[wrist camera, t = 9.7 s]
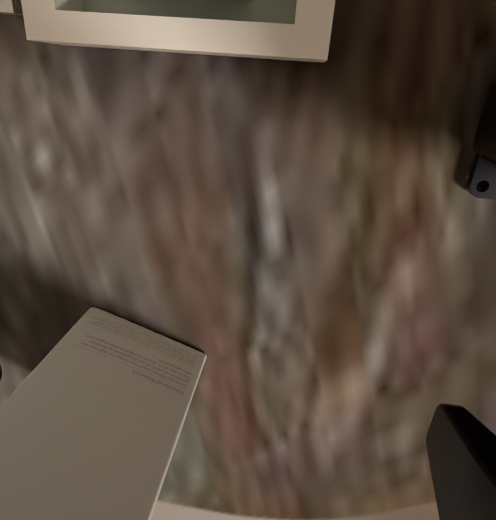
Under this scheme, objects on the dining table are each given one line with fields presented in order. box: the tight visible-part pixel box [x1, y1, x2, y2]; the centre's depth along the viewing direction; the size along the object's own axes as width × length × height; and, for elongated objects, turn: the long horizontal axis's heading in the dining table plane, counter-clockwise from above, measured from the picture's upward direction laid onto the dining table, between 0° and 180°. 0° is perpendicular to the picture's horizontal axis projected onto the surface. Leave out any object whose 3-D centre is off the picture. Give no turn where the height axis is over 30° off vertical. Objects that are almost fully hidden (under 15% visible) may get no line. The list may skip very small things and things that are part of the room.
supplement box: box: [0, 307, 207, 520], centre depth 18 cm, size 7×7×13 cm
